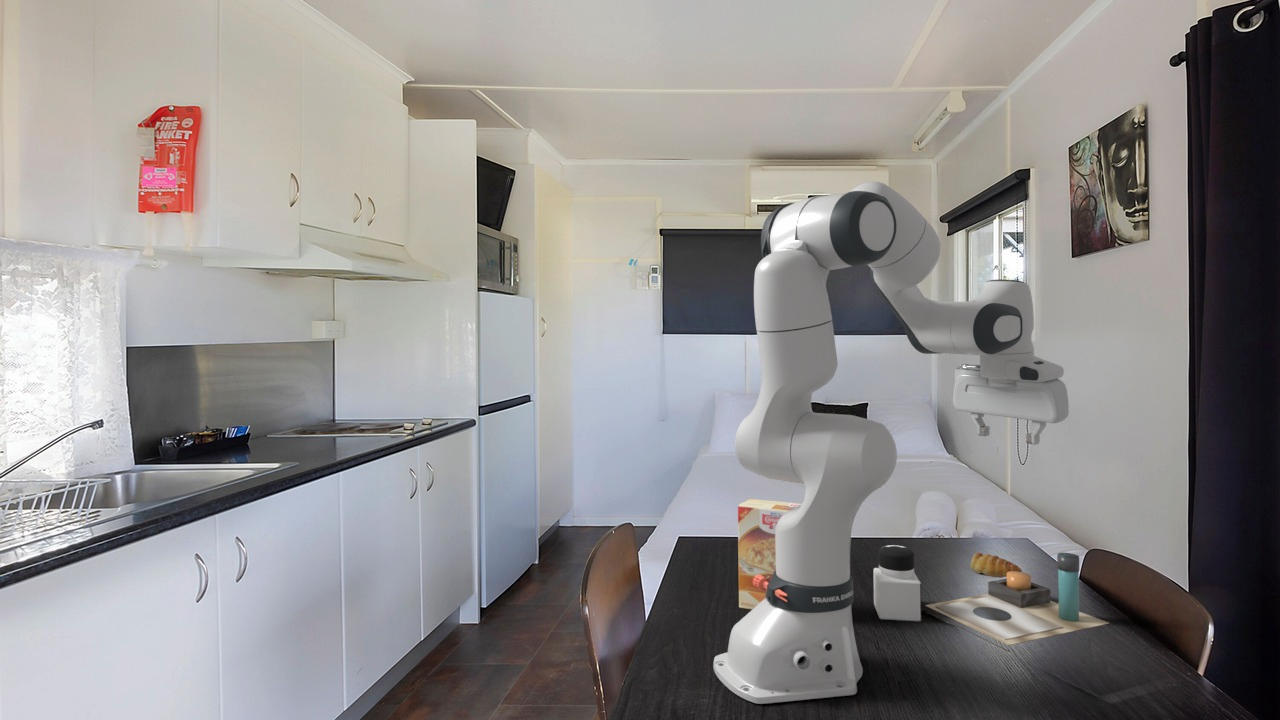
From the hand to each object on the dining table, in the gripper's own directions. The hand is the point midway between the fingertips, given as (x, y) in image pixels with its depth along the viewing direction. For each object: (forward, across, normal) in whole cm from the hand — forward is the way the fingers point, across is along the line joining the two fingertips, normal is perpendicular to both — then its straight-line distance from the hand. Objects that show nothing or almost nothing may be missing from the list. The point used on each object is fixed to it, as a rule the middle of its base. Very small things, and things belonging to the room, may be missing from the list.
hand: (1007, 439), depth 126 cm
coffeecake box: (+28, -20, -40) cm, 53 cm away
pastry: (+33, -10, +11) cm, 37 cm away
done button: (+28, +3, -2) cm, 29 cm away
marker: (+29, +13, -4) cm, 32 cm away
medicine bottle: (+29, -7, -24) cm, 39 cm away
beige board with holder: (+30, +6, -10) cm, 32 cm away
